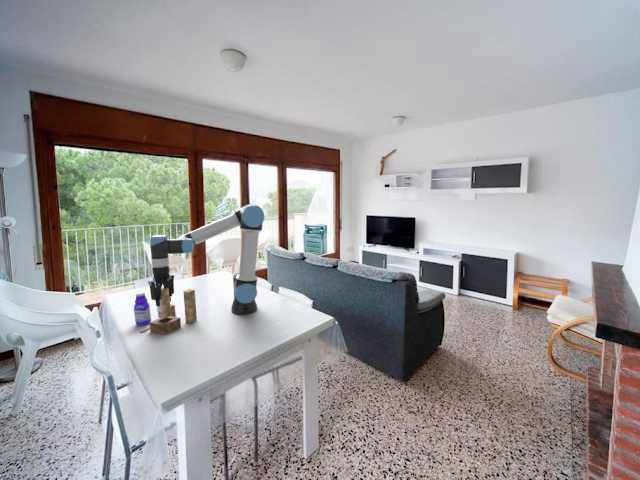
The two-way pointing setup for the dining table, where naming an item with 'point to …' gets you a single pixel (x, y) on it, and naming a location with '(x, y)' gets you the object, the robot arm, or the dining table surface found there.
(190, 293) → the peg long
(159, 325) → the hole block
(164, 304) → the peg medium
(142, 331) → the strip
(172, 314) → the peg short
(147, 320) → the bottle
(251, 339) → the dining table surface
